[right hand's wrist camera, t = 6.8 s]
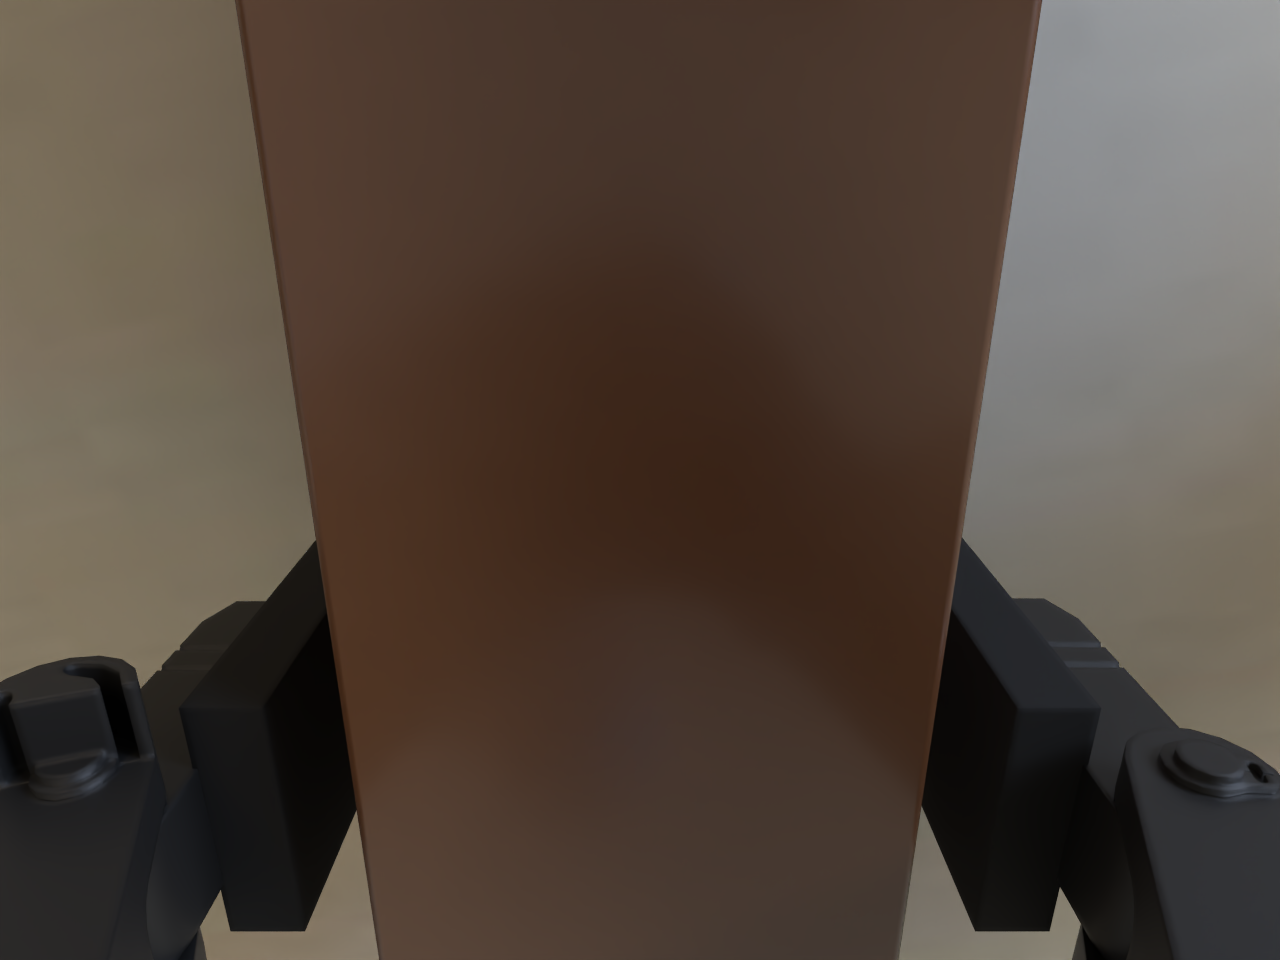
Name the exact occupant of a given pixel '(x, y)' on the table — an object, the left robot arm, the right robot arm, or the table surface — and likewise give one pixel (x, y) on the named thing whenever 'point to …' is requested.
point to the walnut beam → (638, 445)
